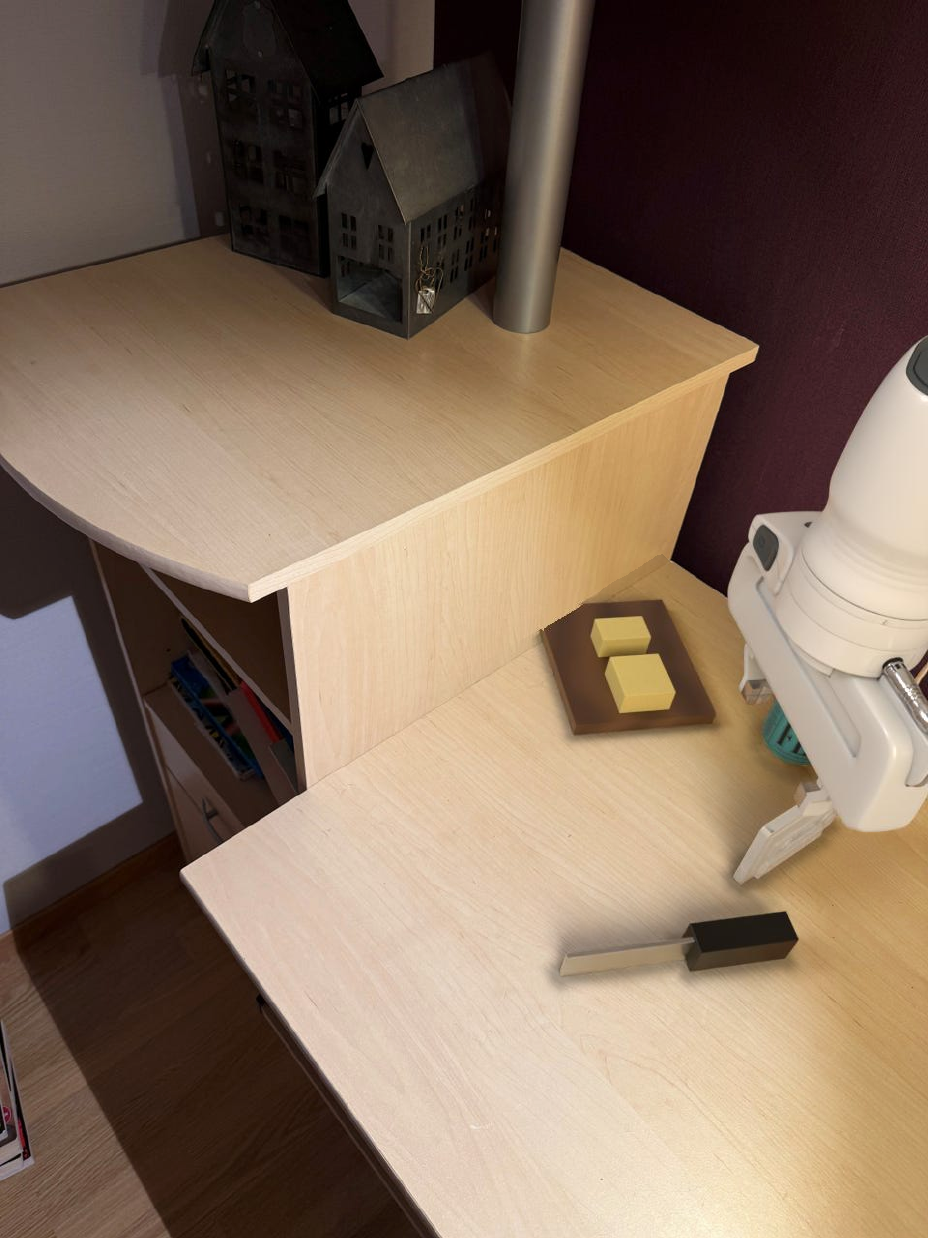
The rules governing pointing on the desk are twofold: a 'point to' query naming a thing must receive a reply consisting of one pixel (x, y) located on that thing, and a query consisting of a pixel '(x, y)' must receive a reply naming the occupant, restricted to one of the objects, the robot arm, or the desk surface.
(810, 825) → the cassette
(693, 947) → the knife
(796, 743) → the beverage bottle
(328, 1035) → the desk surface
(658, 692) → the butter stick
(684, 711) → the board
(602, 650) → the butter pat
